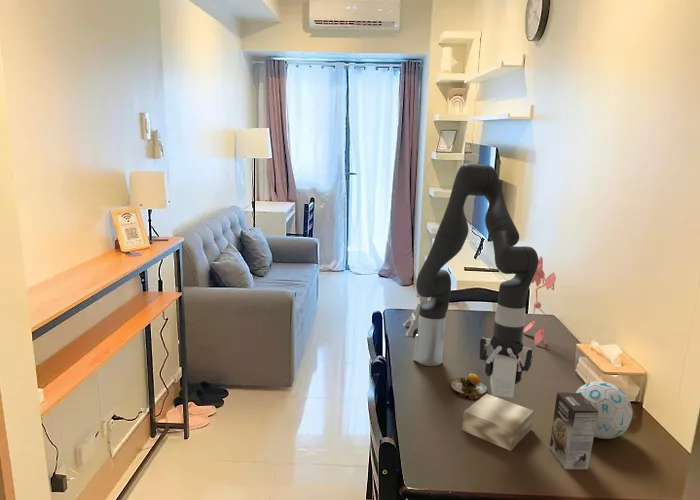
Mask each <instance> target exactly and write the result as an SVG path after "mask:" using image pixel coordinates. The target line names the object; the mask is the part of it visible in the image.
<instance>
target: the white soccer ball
mask: <svg viewBox="0 0 700 500" xmlns="http://www.w3.org/2000/svg"><path fill="white" fill-rule="evenodd" d="M574 393H580V394H581V395H582V396H584V397H585V398H586V399H587V400H588V401H589V402H590V403H591V404H592V405H593V406H594V407H595V408H596V409H597V410H598V416H597V421H596V427H595V433H594V438H597V439H604V440H605V439H606V440H610V439H614V438H617V437H620V436H621V435H623V434H624V433H625V432H626V431H627V430H628V429H629V427H630V425H631V423H632V420H633V419H632V418H633V413H634V411H633V408H632V403H631V401H630V399H629V397H628V396H627V395H626V393H625V392H624V391H623V390H622V389H620V387H618V386H617V385H614V384H613V383H611V382H606V381H601V380H595V381H589V382H587V383H585V384H583V385H581V386H580V387H579V388H577V390H576V391H575V392H574Z"/></svg>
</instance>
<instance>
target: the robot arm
mask: <svg viewBox="0 0 700 500" xmlns="http://www.w3.org/2000/svg"><path fill="white" fill-rule="evenodd" d="M469 196H478V197H484V198H485V199H486V201H487V202H488V208H487V211H486V214H485V218H484V222H485V227H486V231H487V233H488V235H489V237H490V239H491V241H492V244H493V245H492V247H493V251H494V253H493V254H494V263H495V267H496V269H497V270H498V271H499V272H501V273H502V274H505V275H514V276H513V277H512V278H511V279H507V280H505V281H502V282H501V283H499V287H498V295H497V296H498V297H497V304H496V309H495V313H494V321H493V322H494V323H493V332H492V337H490V338H489V337H487V336H485V335H484V336H482V337H481V339H480V340H479V360H482V361H484V362H485V369H484V373H485V374H486V376H487V377H489V378H491V374H492V366H493V362H492V361H493V359H494V358H495V355H497V354H500V355H505V356H509V357H511V358H513V359H517V369H516V378H515V385H517V384H518V383H520V381H522V377H523V372H528V371H529V370H530V369H531V367H532V361H533V356H534V352H535V348H534V347H532V346H530V347H527V346H524V344H523V337H524V333H523V330H524V329H525V323H526V304H527V296H528V291H529V289H530V286H531V284H532V279H533V277H534V275H535V272H536V270H537V267H538V260H539V256H538V253H537V251H536V250H535V248H534V247H531V246H528V245H527V246H522V245H521V246H516V245H517V244H518V242H519V240H520V234H519V231H518V230H517V229H518V228H517V226H516V225H515V222H514V221H513V219H512V217H511V215H510V213H509V211H508V207H507V204H506V200H505V197H504V193H503V190H502V186H501V182H500V180H499V176H498V173H497V171H496V170H495V168H494V167H493V166H491V165H488V164H479V163H463V164H462V165H461V166H460V167H459V168H458V169H457V172H456V176H455V178H454V181H453V185H452V188H451V193H450V196H449V200H448V203H447V205H446V209H445V211H444V214H443V217H442V219H441V221H440V224H439V226H438V229H437V231H436V234H435V237H434V240H433V243H432V246H431V248H430V250H429V253H428V254H427V257H426V259H425V260H424V263H423V265H422V267H421V269H420V270H419V272H418V275H417V277H416V283H415V285H416V292H417V294H418V295H419V297H420V296H422V297H428V298H430V299H429V300H428V302H426V303H424V304H422V305H421V306H420V309H419V322H418V327H417V333H416V334H415V336H414V349H413V359H412V360H413V361H415V362H416V363H418V364H419V365H422V366H426V367H427V366H428V367H436V366H439V365H441V364H442V362H443V352H444V342H445V341H444V340H445V329H446V319H447V317H446V316H447V312H448V310H449V306H450V305H449V303H450V298H451V290H452V279H451V275H450V273H449V272H448V270H445V269H442V268H443V267H444V266H445V265H446V264H448V263H449V262H450V261H451V260H453V258H454V257H456V256H457V255H458V253H460V251H461V250H462V249H463V247H464V244H465V242H466V240H467V237H468V235H469V225H468V220H467V217H466V213H465V209H464V207H465V202H466V200H467V198H468V197H469ZM489 344H490V345H491V347H492V349H493V351H494V352H493V351H492V352H491V354H490V355H488V354H487V353H488V352H487V350H488V348H487V347H488V346H489ZM521 352H523V355H524V356H526V357H525V361H524V364H523V363H522V358H521V356H520V353H521Z"/></svg>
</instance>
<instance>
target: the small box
mask: <svg viewBox="0 0 700 500" xmlns="http://www.w3.org/2000/svg"><path fill="white" fill-rule="evenodd" d="M493 352H494V350H493V351H492V353H493ZM492 362H493V366H492V374H491V376H490V389H491V395H492V396H495V397H503V398H512V399H513V398H514V397H515V396H514V394H515V393H514V392H515V387H516V386H515V385H516V384H515V378H516V370H517V359H513V358H511V357H509V356H505V355H500V354H497V355H495V358H494V359H493V360H492Z"/></svg>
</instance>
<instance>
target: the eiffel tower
mask: <svg viewBox="0 0 700 500" xmlns="http://www.w3.org/2000/svg"><path fill="white" fill-rule="evenodd" d="M428 299H429V297H422V296H420V295H419V300H417V305H416V307H415V310H414V311H413V312H411V316H410V317H409V318H408V319H407V320H406V321H405V322H404V323H403V327H406V328H408V327H409V328H408V330H407V331H406V332H405V335H406V337H414V332H415V330H416V329H418V322H419V309H420V306H421V305H422V304H424V303H426V302H428V301H429V300H428Z"/></svg>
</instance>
